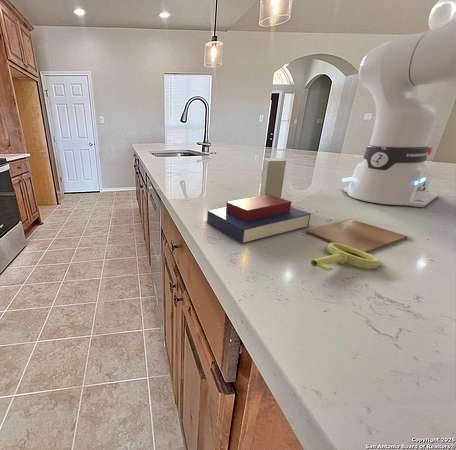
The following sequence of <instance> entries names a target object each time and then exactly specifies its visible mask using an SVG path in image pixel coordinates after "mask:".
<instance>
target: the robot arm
mask: <svg viewBox="0 0 456 450" xmlns="http://www.w3.org/2000/svg"><path fill="white" fill-rule="evenodd" d="M427 24H428V28H429V30H425V31H420V32H416V33H413V34H409V35H408V34H407V35H404V36H400V37H397V38H394V39H392V40H389V41H386V42H384V43H382V44H380V45H378V46H376V47H374V48H372V49H370V50H369V51H368V52H367V53H366V54H365V56H364V58H363V59H362V61H361V63H360V65H359V68H358V80H359V82H360V85H362V87H363V88H365V89H366V90H367V91H368V92H369V93H370V95H371V96H372V98H373V101H374V105H375V120H374V125H373V129H372V133H371V137H370V140H369V144H368V145H366V148H365V150H364V154H363V159H364V160H362V162H360V163H358V164H357V165H356V167H355V169H354V171H353V174H352V176H351V177H343V178H342V179H341V182H349V185H348V186H344V187H343V192H345V193H347V195H348V196H349V197H351V198H354V199H356V200H359V201H363V202H369V203H375V204H380V205H389V206H390V205H391V206H407V207H417V208H423V207H425V206H427V205H428V204H429V203H431V202H432V201H433V200H435V199H436V198H437V197H438V192H437V193H436V192H434V191H429V190H428V189H429V186H430V183H431V180H432V177H433V175H432V174H431V172H430V171H429V168H428V167H427V165H426V163H425V162H426V161H427V159H428V156H431V154H433V150H434V147H433V146H428V144H429V141H430V139H431V136H432V134H433V132H434V128H435V126H436V124H437V123H436V122H437V120H438V117H439V116H438V111H437V109H436V108H435V106H433V105H432V104H429V103H428V102H425V101H422V100H421V99H419V97H418V93H417V92H418V87H419V86H423V85H424V86H425V85H432V84H441V83H451V82H456V0H438V1H437V2H436V4H435V5H434V6H433V8H432V9H431V11H430V14H429V17H428V23H427Z"/></svg>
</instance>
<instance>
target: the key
mask: <svg viewBox="0 0 456 450" xmlns="http://www.w3.org/2000/svg"><path fill="white" fill-rule="evenodd" d="M326 249H327V252H328V253H329V254H330V255H327V256H322V257H317V258H314V259H310V262H309V263H310V266H311V267H312V268H320V269H322V270H324V271H326V272H329V271H333V270H334V266H331V265H330V264H335V263H337V264H344V263H350V264H352V265H356V266H358V267H362V268H366V269H377V268H378V267H379V266H380V263H381V260H380V258H378V257H376V256H374V255H373V254H370V253H369V252H363V251H360V250H358V249H355V248H352V247H349V246H346V245H343V244H339V243H332V242H329V243H328V245H327V248H326Z"/></svg>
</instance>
